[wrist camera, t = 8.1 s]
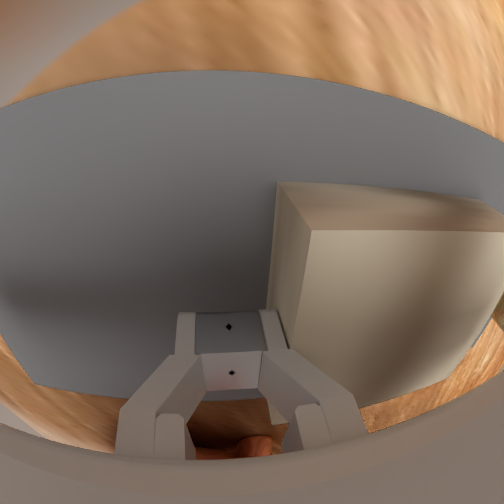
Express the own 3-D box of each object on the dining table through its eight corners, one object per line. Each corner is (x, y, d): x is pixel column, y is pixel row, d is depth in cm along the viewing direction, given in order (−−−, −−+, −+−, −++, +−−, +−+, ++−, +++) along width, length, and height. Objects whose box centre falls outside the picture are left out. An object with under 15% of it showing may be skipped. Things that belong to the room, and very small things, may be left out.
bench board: (533, 163, 10) (549, 172, 9) (463, 334, 17) (472, 346, 16) (-41, 131, 6) (-63, 140, 4) (41, 365, 13) (35, 384, 11)
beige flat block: (479, 199, 9) (528, 233, 6) (422, 337, 13) (447, 377, 10) (277, 181, 8) (311, 230, 5) (260, 365, 12) (272, 425, 9)
